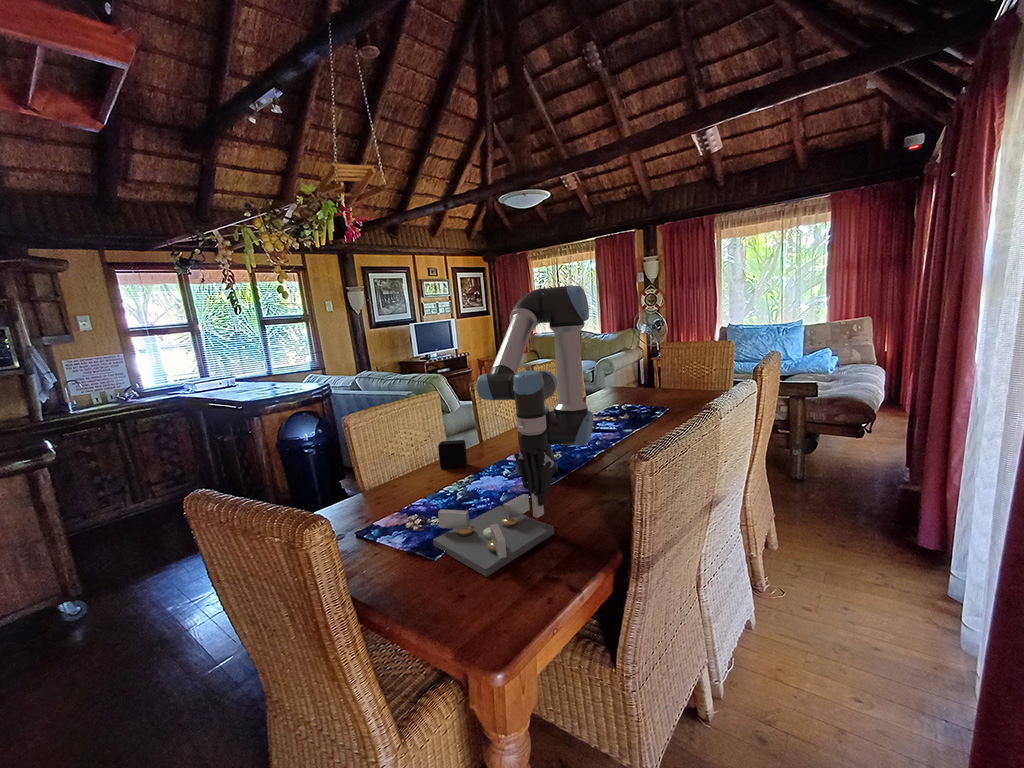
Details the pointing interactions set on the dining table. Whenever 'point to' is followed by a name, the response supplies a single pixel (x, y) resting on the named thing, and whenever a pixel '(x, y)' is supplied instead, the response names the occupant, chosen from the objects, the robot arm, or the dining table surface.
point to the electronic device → (452, 454)
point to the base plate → (475, 545)
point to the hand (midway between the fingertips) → (538, 515)
